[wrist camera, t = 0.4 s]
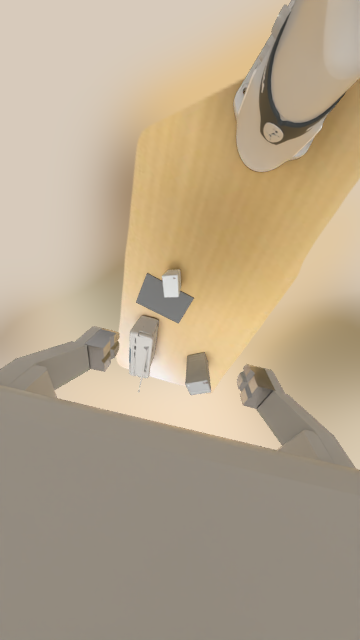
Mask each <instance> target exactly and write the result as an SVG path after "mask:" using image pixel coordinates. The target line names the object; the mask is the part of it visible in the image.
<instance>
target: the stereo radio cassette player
mask: <svg viewBox="0 0 360 640" xmlns="http://www.w3.org/2000/svg"><path fill="white" fill-rule="evenodd" d="M158 325H159V320H157V319H154V318H151V317H147V316H141V317H140V318H139V320H138V321H137V322H136V324H135V325H134V326H133V328H132V330H131V331H130V355H129V374H130V375H133V376H138V377H141V381H142V378H148V377H149V373H150V366H151V363H152V360H153V358H154V354H155V347H156V340H157V332H158ZM141 381H140V385H141ZM139 388H140V386H139ZM138 392H139V391H138Z"/></svg>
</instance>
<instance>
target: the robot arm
mask: <svg viewBox="0 0 360 640" xmlns="http://www.w3.org/2000/svg"><path fill="white" fill-rule="evenodd" d="M271 32H272V34H271V36H270V37H269V39H268V41H267V42H266V44H265V46H264V47H263V49H262V51H261V53H260V54H259V56H258V58H257V59H256V61H255V63H254V64H253V66H252V68H251V69H250V71H249V73H248V74H247V76H246V78H245V79H244V81H243V83H242V85H241V86H240V88H239V90H238V91H237V93H236V95H235V98H234V101H233V107H234V112H235V116H236V120H237V132H236V141H237V148H238V152H239V155H240V157H241V159H242V161H243V162H244V164H245V165H246V166H247V167H248V168H250V169H252V170H254V171H257V172H266V171H270V170H273V169H275V168H277V167H279V166H280V165H282V164H283V163H285V162H286V161H288V160H294V159H298V158H300V157H302V156H303V155H304V154H305V153H306V152H307V150H308V149H309V147H310V145H311V143H312V141H313V139H314V137H315V135H316V134H317V133H318V132H319V131H320V130H321V128H322V124H323V122H324V120H325V118H326V116H327V115H328V114H329V113H330V111H331V110H332V109H333V108H334V107H335V105H336V104H337V103H338V102H339V101H340V99H341V98H342V97H343V96H344V94H345V93H346V91H347V90H348V89H349V88H350V87H351V86H352V85H353V84H354V83H355V82H356V81H357V80H358V79H359V78H360V0H291V2H290V3H289V5H288V7H287V5H284V6H283V8H282V9H281V11H280V13H279V15H278V17H277V19H276V21H275V23H274V26H273V28H272V31H271ZM243 91H246V92H245V95H244V94H243ZM118 339H119V333H118V332H115V331H112V330H108V329H104V328H100V327H96V326H93V327H91V328H90V329H89V330H88V331H87V332H86V333H84V334H83V335H82V336H81V337H80V338H79V339H77V340H76V341H75V342H72V341H71V342H68V343H65V344H62V345H58V346H55V347H52V348H49V349H46V350H43V351H39V352H36V353H33V354H30V355H26V356H23V357H20V358H17V359H15V360H13V361H12V362H10V363H9V364H7V365H6V366H4V367H3V368H1V369H0V640H360V470H358V469H356V468H355V466H354V465H353V463H352V462H351V460H350V459H349V457H348V456H347V454H346V453H345V452H344V450H343V448H342V447H341V445H340V444H339V442H338V441H337V440H336V438H335V437H334V435H333V434H331V433H330V432H329V431H328V430H327V429H326V428H325V427H324V426H322V425H321V424H320V423H319V422H318V421H317V420H316V419H315V418H313V416H311V415H310V414H309V413H308V412H307V411H306V410H305V409H304V408H303V407H301V406H300V405H299V404H298V403H297V402H296V401H294V399H293V398H291V397H290V396H289V395H288V394H285V392H284V390H283V389H282V387H281V385H280V383H279V381H278V380H277V378H276V376H275V374H274V373H273V371H272V370H270V369H266V368H261V367H257V366H252V365H248V364H247V365H245V366H244V368H243V369H244V371H243V372H241V373H240V374H239V376H238V379H237V385H238V388H239V389H240V391H241V394H240V397H241V400H242V404H243V405H244V406H248V407H251V408H255V409H257V411H258V412H259V414H260V415H261V417H262V418H263V419H264V421H265V422H266V423H267V425H268V426H269V428H270V429H271V430H272V432H273V433H274V435H275V436H276V437H277V439H278V440H279V442H280V443H281V445H282V446H281V447H280V448H278V449H277V450H274V449H270V448H265V447H261V446H257V445H252V444H248V443H244V442H240V441H236V440H232V439H227V438H223V437H219V436H215V435H210V434H206V433H202V432H198V431H194V430H189V429H185V428H181V427H176V426H172V425H168V424H163V423H159V422H155V421H151V420H147V419H142V418H138V417H134V416H130V415H125V414H121V413H117V412H113V411H109V410H104V409H100V408H96V407H92V406H87V405H83V404H79V403H75V402H71V401H66V400H62V399H58V398H57V396H56V393H55V390H56V389H57V388H59V387H61V386H62V385H64V384H66V383H68V382H69V381H71V380H73V379H75V378H76V377H78V376H80V375H81V374H83V373H85V372H86V371H88V370H90V369H94V370H99V371H104V372H105V371H106V369H107V368H108V366H109V365H110V363H111V359H112V358H114V357H115V356H116V354H117V352H118V350H119V342H118V341H117V340H118Z"/></svg>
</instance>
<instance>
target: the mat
mask: <svg viewBox="0 0 360 640" xmlns="http://www.w3.org/2000/svg"><path fill="white" fill-rule="evenodd" d="M193 299H194V298H193V297H191V296H189V295H187V294H186V293H184V292H182V291H180V294H179V297H164V291H163V282H162V281H161V280H159V279H158V278H156V277H154V276H152V275H150V274H148V273H147V275H146V277H145V280H144V283H143V285H142V288H141V290H140V293H139V296H138V298H137V301H136V303H138V304H140V305H142V306H144V307H146V308H148V309H150V310H152V311H154V312H156V313H158V314H160V315H162V316H164V317H166V318H168V319H170V320H172V321H174V322H176V323H179V322H180V320H181V318H182V317H183V315H184V314H185V312H186V310H187V309H188V307H189V305H190V304H191V302H192V300H193Z"/></svg>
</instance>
